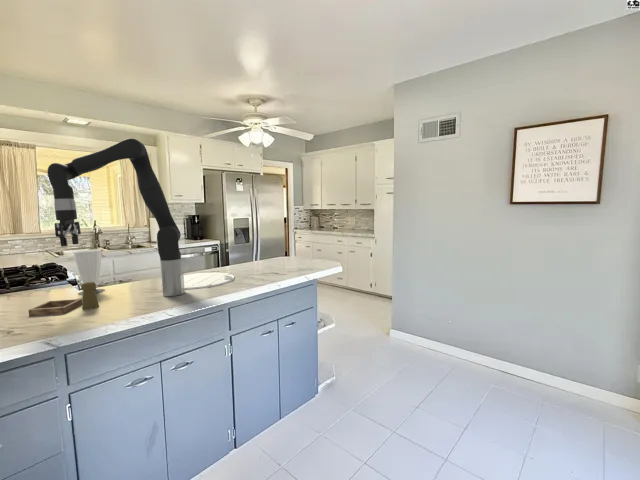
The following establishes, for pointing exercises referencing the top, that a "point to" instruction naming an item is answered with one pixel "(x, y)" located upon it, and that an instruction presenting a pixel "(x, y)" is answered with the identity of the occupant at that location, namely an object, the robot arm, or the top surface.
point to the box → (46, 310)
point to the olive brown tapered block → (89, 296)
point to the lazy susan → (206, 280)
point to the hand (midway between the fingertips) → (70, 245)
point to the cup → (89, 266)
